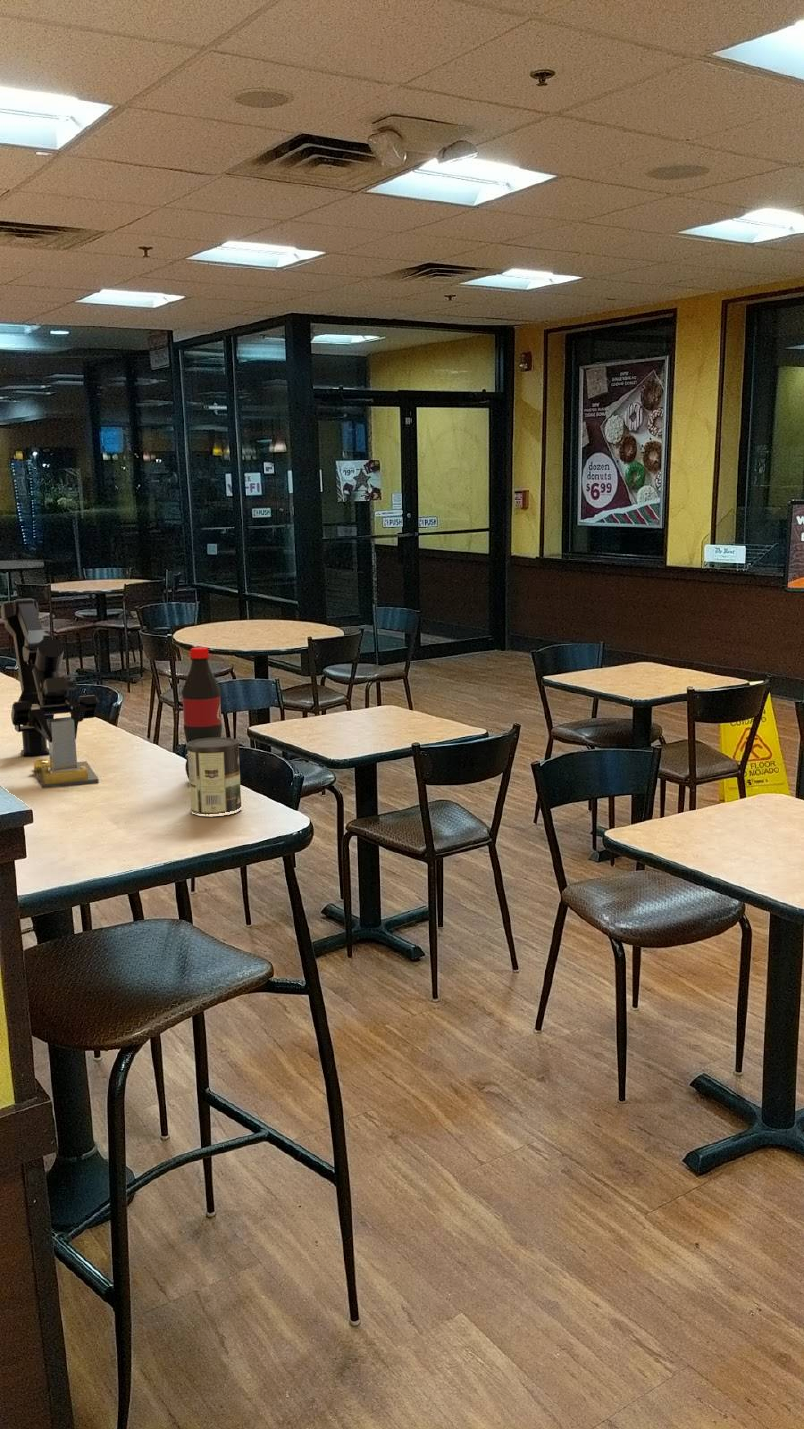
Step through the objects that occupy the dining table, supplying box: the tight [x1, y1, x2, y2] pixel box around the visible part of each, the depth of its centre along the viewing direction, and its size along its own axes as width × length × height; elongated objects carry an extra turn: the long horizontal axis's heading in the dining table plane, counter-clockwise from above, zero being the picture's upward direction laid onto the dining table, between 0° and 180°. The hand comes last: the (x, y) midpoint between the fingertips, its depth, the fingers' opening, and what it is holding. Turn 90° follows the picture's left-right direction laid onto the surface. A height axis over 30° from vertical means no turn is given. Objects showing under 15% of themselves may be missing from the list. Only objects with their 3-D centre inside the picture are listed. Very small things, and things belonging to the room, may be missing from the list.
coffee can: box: [186, 736, 242, 815], centre depth 216 cm, size 10×10×14 cm
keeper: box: [33, 758, 100, 789], centre depth 249 cm, size 20×12×3 cm, turn 23°
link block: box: [47, 716, 78, 771], centre depth 244 cm, size 4×5×11 cm
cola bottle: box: [181, 646, 223, 780], centre depth 240 cm, size 8×8×30 cm
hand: (63, 739), depth 243 cm, fingers closed on link block, 5 cm apart
